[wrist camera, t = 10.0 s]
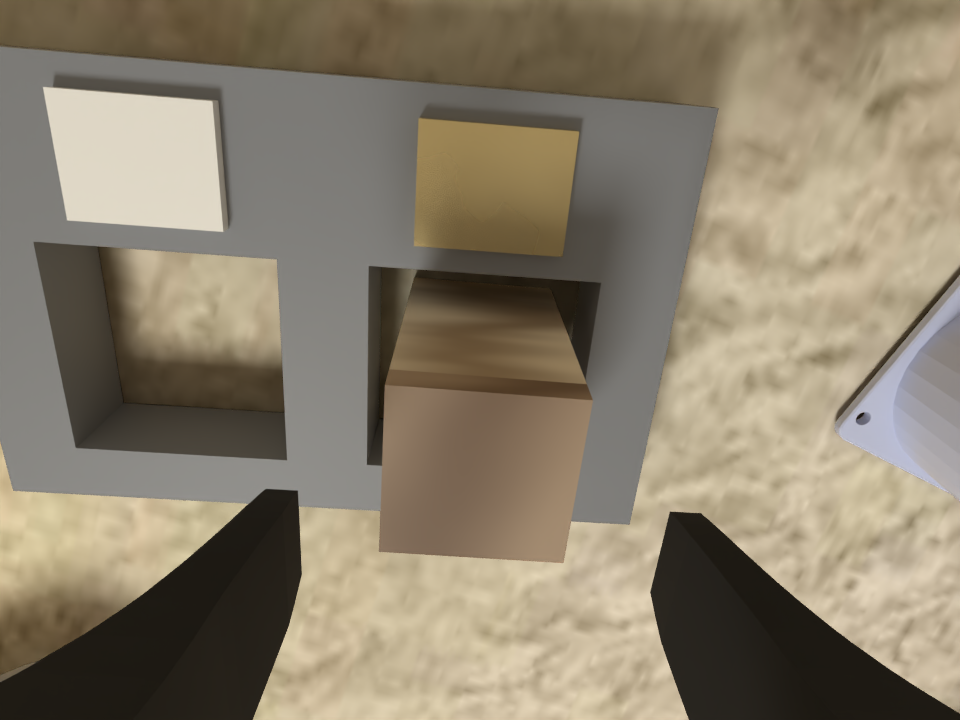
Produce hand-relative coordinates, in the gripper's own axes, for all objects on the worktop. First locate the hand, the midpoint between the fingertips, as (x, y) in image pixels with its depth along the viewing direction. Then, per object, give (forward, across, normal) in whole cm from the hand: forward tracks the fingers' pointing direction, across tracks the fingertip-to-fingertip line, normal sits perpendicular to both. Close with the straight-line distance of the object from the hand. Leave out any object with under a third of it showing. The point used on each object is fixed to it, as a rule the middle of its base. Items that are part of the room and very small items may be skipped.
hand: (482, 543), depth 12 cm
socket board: (+10, +4, -1) cm, 11 cm away
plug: (+10, 0, 0) cm, 10 cm away
